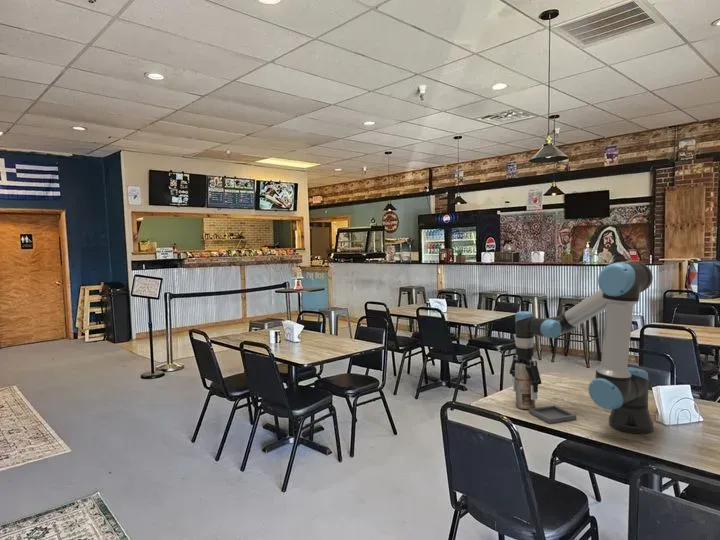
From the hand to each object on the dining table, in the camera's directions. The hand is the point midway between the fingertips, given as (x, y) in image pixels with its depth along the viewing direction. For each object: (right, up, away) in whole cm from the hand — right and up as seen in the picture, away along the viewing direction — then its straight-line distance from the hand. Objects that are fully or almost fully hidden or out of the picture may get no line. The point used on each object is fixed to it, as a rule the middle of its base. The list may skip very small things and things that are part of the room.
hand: (524, 395), depth 206 cm
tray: (+7, -6, -12) cm, 15 cm away
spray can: (0, -6, 0) cm, 6 cm away
